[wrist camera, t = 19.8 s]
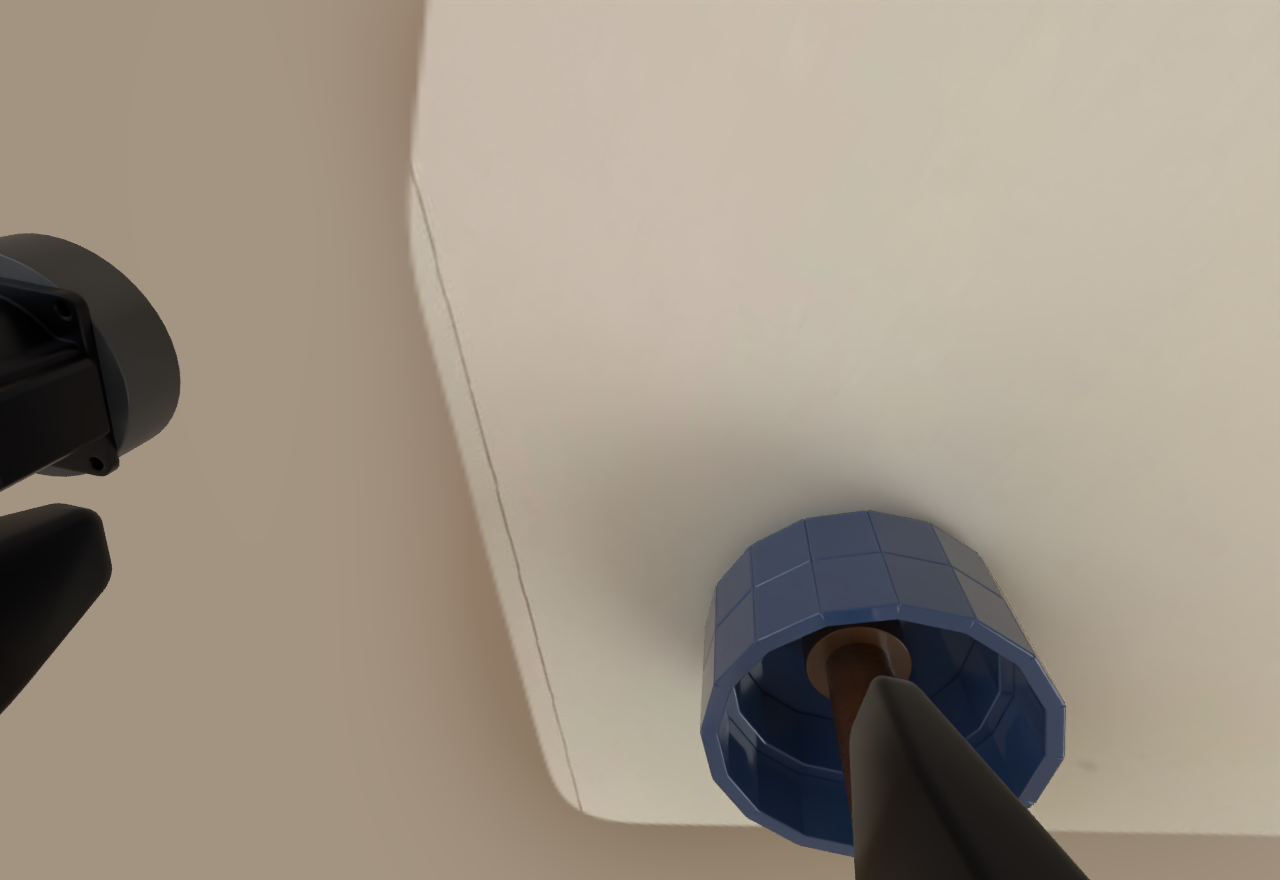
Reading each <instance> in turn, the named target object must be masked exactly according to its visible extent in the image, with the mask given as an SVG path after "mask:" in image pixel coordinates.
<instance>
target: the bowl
mask: <svg viewBox="0 0 1280 880" xmlns="http://www.w3.org/2000/svg"><path fill="white" fill-rule="evenodd" d="M887 620H899V621H900V624H901V627H902V630H903V633H904V636H905V639H906V642H907V645H908V648H909V651H910V654H911V657H912V672H911V675H910V678H909V680H908V681H910V682H913V683H914V684H916V685H917V686H918V687H919V688H920V689H921V690H922V691H923V692H924V694H925V695H926V696H927V697H928V698H929V699H930V700H931V701H932V703H933V704H934V705H935V706H936V707H937V708H938V709H939V710H940V712H941V713H942V714H943V715H944V716H945V717H946V718H947V719H948V721H949V722H950V723H951V724H952V725H953V726H954V727H955V728H956V730H957V731H958V732H959V733H960V734H961V735H962V736H963V737H964V739H965V740H966V741H967V742H968V743H969V744H970V745H971V746H972V748H973V749H974V750H975V751H976V752H977V753H978V754H979V755H980V757H981V758H982V759H983V760H984V761H985V762H986V763H987V764H988V766H989V767H990V768H991V769H992V770H993V771H994V772H995V773H996V775H997V776H998V777H999V778H1000V779H1001V780H1002V781H1003V782H1004V784H1005V785H1006V786H1007V787H1008V788H1009V789H1010V790H1011V791H1012V793H1013V794H1014V795H1015V796H1016V797H1017V798H1018V799H1019V800H1020V802H1021V803H1022V804H1023V805H1024V806H1025V807H1026V808H1027V809H1028V808H1029V807H1031V806H1032V805H1034V803H1036V801H1037V800H1038V798H1039V797H1040V795H1041V794H1042V792H1043V791H1044V789H1045V787H1046V786H1047V784H1048V783H1049V781H1050V780H1051V778H1052V776H1053V775H1054V773H1055V772H1056V770H1057V769H1058V767H1059V766H1060V764H1061V762H1062V761H1063V759H1064V755H1065V716H1066V706H1065V702H1064V700H1063V698H1062V697H1061V695H1060V693H1059V691H1058V690H1057V688H1056V686H1055V684H1054V683H1053V681H1052V679H1051V677H1050V675H1049V674H1048V672H1047V670H1046V668H1045V667H1044V665H1043V663H1042V661H1041V659H1040V658H1039V656H1038V654H1037V652H1036V651H1035V649H1034V647H1033V645H1032V644H1031V642H1030V640H1029V638H1028V636H1027V635H1026V633H1025V631H1024V629H1023V628H1022V626H1021V624H1020V622H1019V620H1018V619H1017V617H1016V615H1015V613H1014V612H1013V610H1012V608H1011V606H1010V604H1009V603H1008V601H1007V599H1006V597H1005V596H1004V594H1003V592H1002V591H1001V589H1000V587H999V586H998V584H997V582H996V581H995V579H994V578H993V576H992V574H991V573H990V571H989V569H988V568H987V566H986V565H985V563H984V561H983V560H982V558H981V557H980V556H979V555H978V553H977V552H975V551H974V550H972V549H971V548H969V547H968V546H966V545H964V544H963V543H961V542H960V541H958V540H957V539H955V538H953V537H952V536H950V535H949V534H947V533H946V532H944V531H942V530H941V529H939V528H938V527H936V526H935V525H933V524H931V523H928V522H925V521H920V520H915V519H910V518H905V517H900V516H895V515H890V514H885V513H880V512H875V511H870V510H868V511H858V512H851V513H843V514H836V515H828V516H820V517H813V518H807V519H805V520H804V519H802V520H800V521H798V522H796V523H794V524H792V525H790V526H788V527H786V528H784V529H782V530H780V531H778V532H776V533H774V534H772V535H770V536H768V537H766V538H764V539H762V540H760V541H758V542H756V543H754V544H752V546H750V547H749V548H748V549H747V550H746V551H745V553H744V554H743V555H742V556H741V557H740V558H739V559H738V561H737V562H736V563H735V564H734V565H733V566H732V567H731V569H730V570H729V571H728V572H727V573H726V574H725V575H724V577H723V578H722V579H721V580H720V581H719V582H718V584H717V586H716V588H715V591H714V595H713V599H712V603H711V606H710V610H709V614H708V617H707V621H706V625H705V638H704V660H703V678H702V700H701V722H700V734H701V738H702V742H703V746H704V749H705V753H706V757H707V761H708V764H709V768H710V772H711V776H712V778H713V780H714V781H715V782H716V784H717V785H718V786H719V787H720V788H721V789H722V790H723V791H724V793H725V794H726V795H727V796H728V797H729V798H730V799H731V801H732V802H733V803H734V804H735V805H736V806H737V807H738V808H739V810H740V811H741V812H742V813H743V814H744V815H745V816H746V817H748V819H750V820H752V821H754V822H756V823H758V824H760V825H762V826H763V827H765V828H767V829H769V830H771V831H773V832H775V833H776V834H778V835H780V836H782V837H784V838H786V839H788V840H790V841H792V842H793V843H795V844H798V845H800V846H805V847H809V848H814V849H819V850H823V851H828V852H832V853H837V854H842V855H846V856H851V857H854V841H853V829H852V823H851V817H850V811H849V805H848V799H847V793H846V788H845V782H844V776H843V770H842V764H841V758H840V753H839V747H838V741H837V735H836V729H835V723H834V718H833V712H832V706H831V700H830V699H828V698H826V697H824V696H823V695H822V694H820V693H819V692H818V691H817V690H816V689H815V688H814V687H813V686H812V685H811V683H810V681H809V680H808V677H807V675H806V670H805V663H804V655H803V648H802V641H801V638H802V637H804V636H806V635H809V634H811V633H813V632H816V631H818V630H820V629H822V628H825V627H827V626H837V625H847V624H857V623H867V622H877V621H887Z"/></svg>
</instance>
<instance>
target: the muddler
mask: <svg viewBox="0 0 1280 880" xmlns="http://www.w3.org/2000/svg"><path fill="white" fill-rule="evenodd" d="M801 641H802V648H803V655H804V663H805V670H806V675H807V677H808V680H809V681H810V683H811V685H812V686H813V687H814V688H815V689H816V690H817V691H818V692H819V693H820V694H822V695H823V696H824V697H826V698H828V699H830V700H831V706H832V712H833V718H834V723H835V729H836V735H837V741H838V747H839V753H840V758H841V764H842V770H843V776H844V782H845V788H846V793H847V799H848V805H849V811H850V817H851V823H852V829H853V819H852V797H851V774H850V752H849V742H850V733H851V729H852V725H853V723H854V720H855V718H856V716H857V713H858V711H859V709H860V706H861V704H862V702H863V699H864V697H865V695H866V692H867V690H868V688H869V685H870V683H871V682H872V680H873V679H874V678H875V677H877V676H880V675H883V676H888V677H893V678H898V679H903V680H907V681H908V680H909V678H910V675H911V672H912V657H911V654H910V651H909V648H908V645H907V642H906V639H905V636H904V633H903V630H902V627H901V624H900V621H899V620H887V621H877V622H867V623H857V624H847V625H837V626H827V627H825V628H822V629H820V630H818V631H816V632H813V633H811V634H809V635H806V636H804V637H802V638H801Z"/></svg>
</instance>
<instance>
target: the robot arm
mask: <svg viewBox="0 0 1280 880" xmlns="http://www.w3.org/2000/svg"><path fill="white" fill-rule="evenodd" d="M66 304H67V305H68V306H69V308H70V310H71V311H70V310H69V309H68V308H67V306H66ZM100 460H101V461H102V462H101V461H100ZM48 466H52V467H57V468H62V469H67V470H72V471H77V472H82V473H86V474H92V475H96V476H106V475H108V474H109V473H111V472H113V471H115V470H116V469H117V468H118V467H119V457H118V452H117V447H116V442H115V437H114V432H113V427H112V422H111V417H110V412H109V407H108V402H107V396H106V391H105V386H104V381H103V376H102V371H101V366H100V361H99V356H98V351H97V346H96V341H95V336H94V331H93V326H92V321H91V316H90V311H89V307H88V305H87V303H86V301H85V300H84V299H83V297H81V296H80V295H79V294H78V293H76V292H73V291H70V290H65V289H60V288H55V287H50V286H45V285H40V284H35V283H30V282H25V281H20V280H15V279H9V278H4V277H0V491H3V490H5V489H7V488H9V487H10V486H12V485H14V484H16V483H18V482H20V481H22V480H24V479H26V478H27V477H29V476H31V475H33V474H35V473H37V472H39V471H41V470H43V469H44V468H46V467H48ZM111 572H112V564H111V559H110V555H109V551H108V546H107V541H106V536H105V532H104V528H103V523H102V520H101V518H100V516H99V515H98V514H97V513H96V512H94V511H93V510H91V509H87V508H82V507H77V506H72V505H68V504H60V503H57V504H49V505H46V506H41V507H37V508H33V509H29V510H25V511H21V512H17V513H13V514H9V515H5V516H1V517H0V714H1V713H2V712H3V711H4V710H5V709H6V708H7V707H8V705H10V704H11V703H12V701H13V700H14V699H15V698H16V697H17V695H18V694H19V693H20V692H21V691H22V690H23V688H24V687H25V686H26V685H27V684H28V683H29V681H30V680H31V679H32V678H33V676H34V675H35V674H36V673H37V672H38V670H39V669H40V668H41V667H42V665H43V664H44V663H45V661H46V660H47V659H48V658H49V657H50V655H51V654H52V653H53V652H54V651H55V649H56V648H57V647H58V646H59V645H60V643H61V642H62V641H63V640H64V638H65V637H66V636H67V635H68V633H69V632H70V631H71V630H72V628H73V627H74V626H75V625H76V624H77V622H78V621H79V620H80V619H81V618H82V616H83V615H84V614H85V612H86V611H87V610H88V609H89V608H90V607H91V605H92V604H93V603H94V601H95V600H96V599H97V598H98V597H99V595H100V594H101V593H102V592H103V590H104V589H105V588H106V586H107V584H108V582H109V580H110V577H111ZM849 752H850V774H851V797H852V819H853V841H854V863H855V879H856V880H1090V879H1089V878H1088V877H1087V876H1086V875H1085V874H1084V873H1083V871H1082V870H1081V869H1080V868H1079V867H1078V866H1077V865H1076V864H1075V862H1074V861H1073V860H1072V859H1071V858H1070V857H1069V856H1068V855H1067V853H1066V852H1065V851H1064V850H1063V849H1062V848H1061V847H1060V846H1059V844H1057V842H1056V841H1055V840H1054V839H1053V838H1052V837H1051V835H1050V834H1049V833H1048V832H1047V831H1046V830H1045V829H1044V827H1043V826H1042V825H1041V824H1040V823H1039V822H1038V821H1037V820H1036V818H1035V817H1034V816H1033V815H1032V814H1031V813H1030V812H1029V811H1028V809H1027V808H1026V807H1025V806H1024V805H1023V804H1022V803H1021V802H1020V800H1019V799H1018V798H1017V797H1016V796H1015V795H1014V794H1013V793H1012V791H1011V790H1010V789H1009V788H1008V787H1007V786H1006V785H1005V784H1004V782H1003V781H1002V780H1001V779H1000V778H999V777H998V776H997V775H996V773H995V772H994V771H993V770H992V769H991V768H990V767H989V766H988V764H987V763H986V762H985V761H984V760H983V759H982V758H981V757H980V755H979V754H978V753H977V752H976V751H975V750H974V749H973V748H972V746H971V745H970V744H969V743H968V742H967V741H966V740H965V739H964V737H963V736H962V735H961V734H960V733H959V732H958V731H957V730H956V728H955V727H954V726H953V725H952V724H951V723H950V722H949V721H948V719H947V718H946V717H945V716H944V715H943V714H942V713H941V712H940V710H939V709H938V708H937V707H936V706H935V705H934V704H933V703H932V701H931V700H930V699H929V698H928V697H927V696H926V695H925V694H924V692H923V691H922V690H921V689H920V688H919V687H918V686H917V685H916V684H914V683H913V682H910V681H907V680H903V679H898V678H893V677H888V676H883V675H880V676H877V677H875V678H874V679H873V680H872V682H871V683H870V685H869V688H868V690H867V692H866V695H865V697H864V699H863V702H862V704H861V706H860V709H859V711H858V713H857V716H856V718H855V720H854V723H853V725H852V729H851V733H850V742H849Z"/></svg>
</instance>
